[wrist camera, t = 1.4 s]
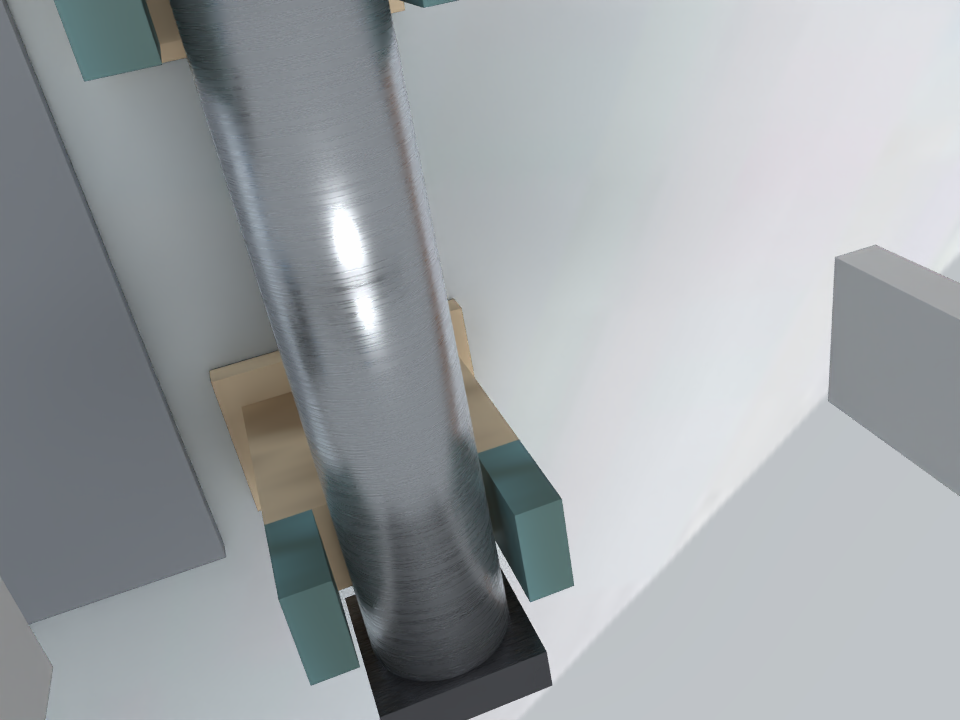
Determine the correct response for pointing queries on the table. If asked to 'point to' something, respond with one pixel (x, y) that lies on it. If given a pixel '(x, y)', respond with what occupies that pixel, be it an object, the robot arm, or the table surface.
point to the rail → (365, 339)
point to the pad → (76, 389)
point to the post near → (134, 33)
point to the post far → (307, 521)
